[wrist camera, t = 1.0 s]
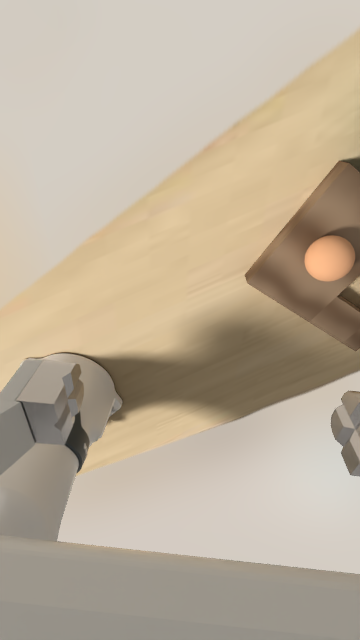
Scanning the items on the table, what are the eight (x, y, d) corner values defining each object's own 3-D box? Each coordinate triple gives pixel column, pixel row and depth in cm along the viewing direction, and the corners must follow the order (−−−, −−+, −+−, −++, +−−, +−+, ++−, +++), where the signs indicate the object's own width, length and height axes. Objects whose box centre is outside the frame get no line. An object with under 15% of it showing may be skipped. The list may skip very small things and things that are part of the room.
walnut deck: (348, 340, 44) (355, 351, 42) (244, 274, 39) (247, 283, 37) (451, 256, 37) (466, 264, 34) (339, 160, 31) (349, 163, 29)
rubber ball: (320, 277, 36) (336, 297, 32) (289, 256, 35) (302, 274, 31) (352, 244, 34) (375, 261, 30) (321, 221, 32) (340, 234, 28)
